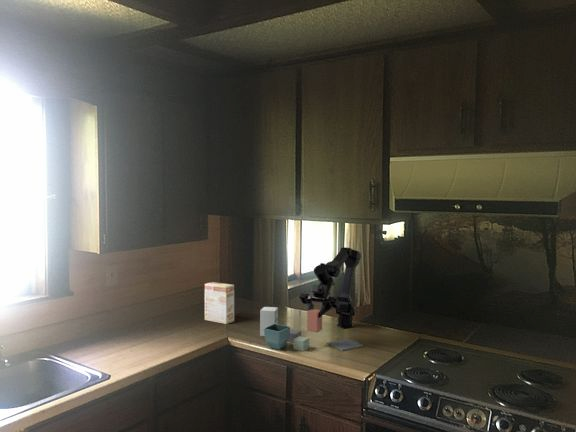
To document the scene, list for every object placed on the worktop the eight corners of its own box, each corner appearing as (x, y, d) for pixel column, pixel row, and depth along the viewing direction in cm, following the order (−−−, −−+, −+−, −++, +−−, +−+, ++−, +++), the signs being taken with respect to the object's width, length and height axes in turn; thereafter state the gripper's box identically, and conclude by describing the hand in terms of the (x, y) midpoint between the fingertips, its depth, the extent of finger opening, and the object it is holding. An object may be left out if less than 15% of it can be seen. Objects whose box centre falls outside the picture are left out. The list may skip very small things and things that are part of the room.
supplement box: (274, 337, 235) (274, 311, 235) (259, 336, 237) (259, 310, 236) (278, 332, 243) (278, 307, 242) (263, 331, 244) (263, 306, 243)
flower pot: (280, 352, 215) (280, 331, 215) (263, 348, 220) (263, 328, 219) (290, 346, 223) (290, 326, 222) (274, 342, 227) (274, 323, 227)
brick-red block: (312, 328, 227) (312, 308, 227) (322, 329, 225) (322, 310, 224) (307, 330, 223) (307, 311, 223) (317, 332, 221) (317, 312, 220)
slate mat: (348, 339, 233) (348, 338, 233) (363, 346, 223) (363, 345, 223) (327, 343, 226) (327, 342, 226) (342, 350, 217) (342, 349, 217)
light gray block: (291, 339, 234) (291, 329, 233) (300, 340, 231) (300, 331, 231) (285, 341, 229) (285, 332, 229) (295, 343, 227) (295, 334, 226)
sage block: (298, 346, 223) (298, 336, 223) (308, 348, 221) (308, 338, 221) (293, 349, 219) (293, 339, 219) (303, 351, 217) (303, 341, 216)
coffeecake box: (234, 321, 262) (234, 284, 261) (226, 324, 256) (226, 287, 255) (213, 317, 270) (212, 281, 269) (204, 320, 264) (203, 283, 263)
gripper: (301, 275, 230) (288, 303, 222) (337, 279, 221) (326, 309, 212) (309, 289, 238) (297, 317, 229) (344, 293, 228) (334, 323, 220)
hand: (313, 316), depth 222 cm, fingers closed on brick-red block, 5 cm apart
